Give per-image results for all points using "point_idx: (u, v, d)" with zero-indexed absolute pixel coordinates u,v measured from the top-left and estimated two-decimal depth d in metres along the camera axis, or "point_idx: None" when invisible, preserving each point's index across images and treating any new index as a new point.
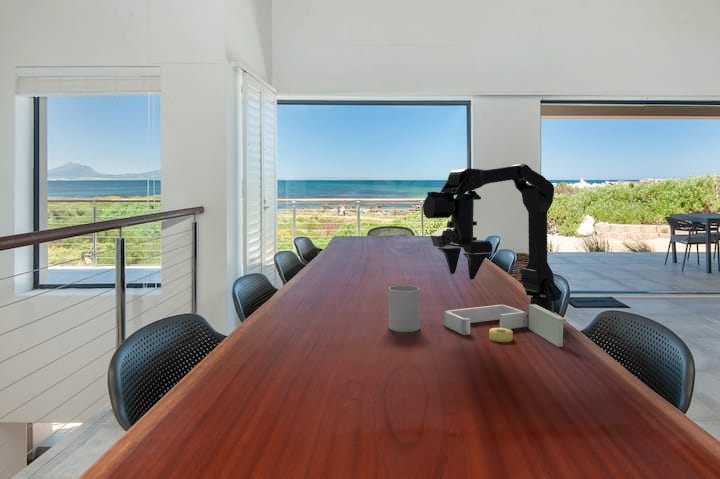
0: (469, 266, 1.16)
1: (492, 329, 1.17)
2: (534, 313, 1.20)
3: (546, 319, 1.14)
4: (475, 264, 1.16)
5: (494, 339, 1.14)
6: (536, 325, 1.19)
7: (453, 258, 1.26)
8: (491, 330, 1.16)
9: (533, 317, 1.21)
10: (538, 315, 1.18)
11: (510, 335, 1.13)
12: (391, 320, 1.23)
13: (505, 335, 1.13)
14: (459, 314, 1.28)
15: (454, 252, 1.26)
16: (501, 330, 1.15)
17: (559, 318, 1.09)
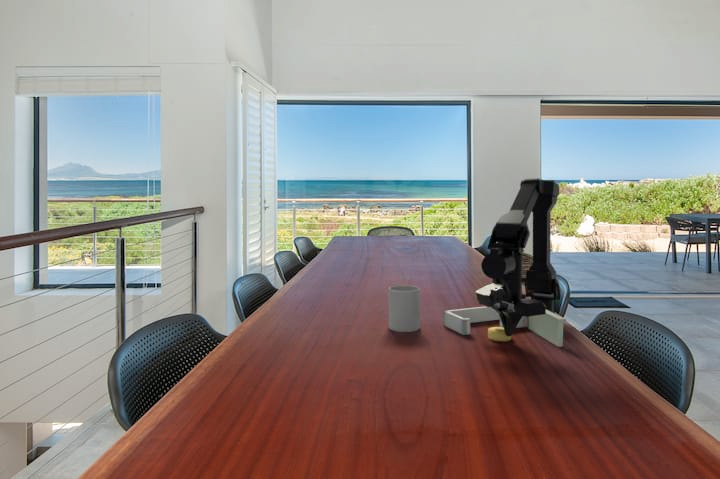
0: (507, 323, 1.11)
1: (491, 328, 1.17)
2: None
3: (546, 319, 1.14)
4: (513, 321, 1.11)
5: (493, 338, 1.14)
6: (536, 325, 1.19)
7: None
8: (490, 329, 1.16)
9: (533, 317, 1.21)
10: (538, 315, 1.18)
11: None
12: (391, 320, 1.23)
13: (504, 334, 1.13)
14: (459, 314, 1.28)
15: None
16: (500, 329, 1.16)
17: (559, 318, 1.09)
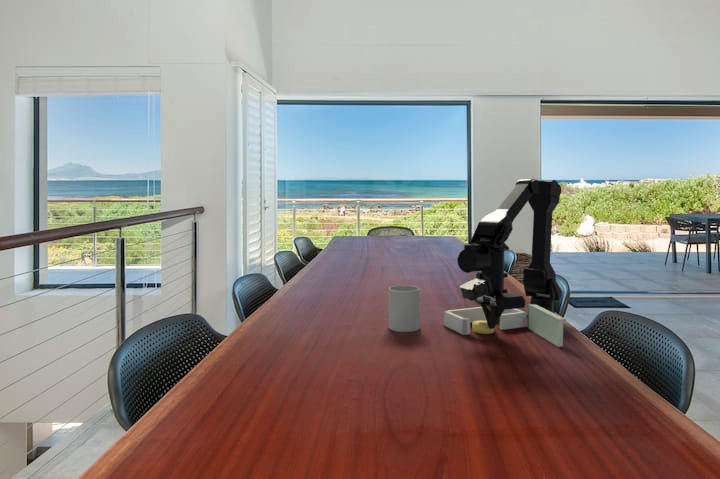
0: (489, 316, 1.17)
1: (475, 321, 1.24)
2: (534, 313, 1.20)
3: (546, 319, 1.14)
4: (495, 314, 1.17)
5: (476, 331, 1.20)
6: (536, 325, 1.19)
7: None
8: (474, 323, 1.22)
9: (533, 317, 1.21)
10: (538, 315, 1.18)
11: None
12: (391, 320, 1.23)
13: (487, 327, 1.19)
14: (459, 314, 1.28)
15: None
16: (483, 323, 1.22)
17: (559, 318, 1.09)
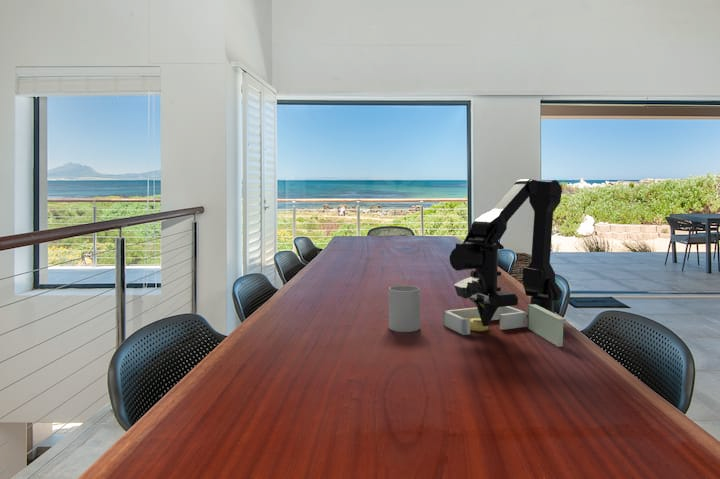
0: (483, 314, 1.20)
1: None
2: (534, 313, 1.20)
3: (546, 319, 1.14)
4: (489, 312, 1.20)
5: (471, 328, 1.23)
6: (536, 325, 1.19)
7: None
8: None
9: (533, 317, 1.21)
10: (538, 315, 1.18)
11: None
12: (391, 320, 1.23)
13: (481, 325, 1.22)
14: (459, 314, 1.28)
15: None
16: (478, 320, 1.24)
17: (559, 318, 1.09)
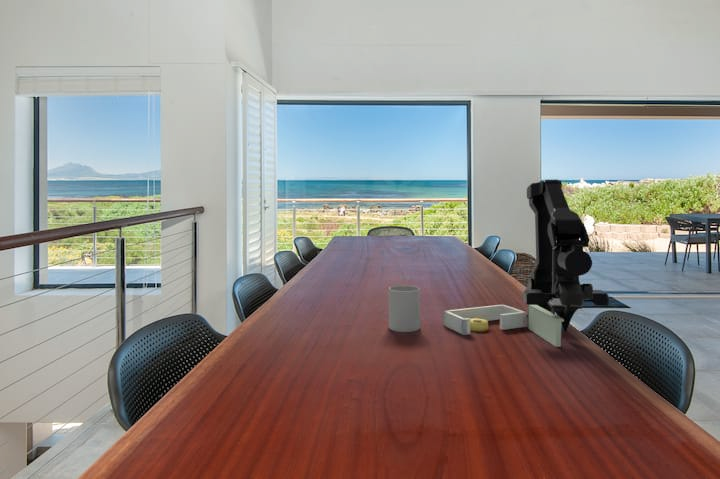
0: (569, 319, 1.12)
1: None
2: (534, 313, 1.20)
3: (545, 319, 1.14)
4: None
5: (471, 329, 1.23)
6: (535, 325, 1.19)
7: None
8: None
9: (533, 317, 1.21)
10: (537, 315, 1.18)
11: (485, 325, 1.22)
12: (391, 320, 1.23)
13: (480, 325, 1.22)
14: (459, 314, 1.28)
15: None
16: (477, 320, 1.24)
17: (557, 318, 1.09)
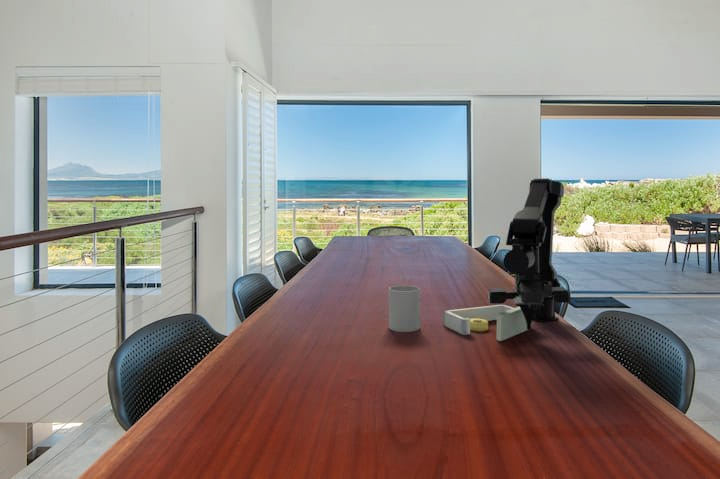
0: (531, 316, 1.14)
1: None
2: None
3: None
4: None
5: (471, 329, 1.23)
6: None
7: None
8: None
9: None
10: None
11: (485, 325, 1.22)
12: (391, 320, 1.23)
13: (480, 325, 1.22)
14: (459, 314, 1.28)
15: None
16: (477, 320, 1.24)
17: (500, 313, 1.14)
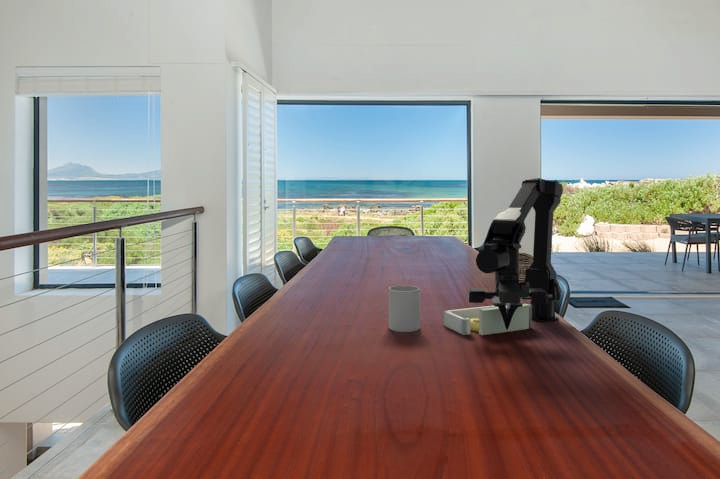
0: (510, 316, 1.15)
1: None
2: None
3: None
4: None
5: (471, 329, 1.23)
6: None
7: None
8: None
9: None
10: None
11: None
12: (391, 320, 1.23)
13: None
14: (459, 314, 1.28)
15: None
16: (477, 320, 1.24)
17: (483, 309, 1.18)
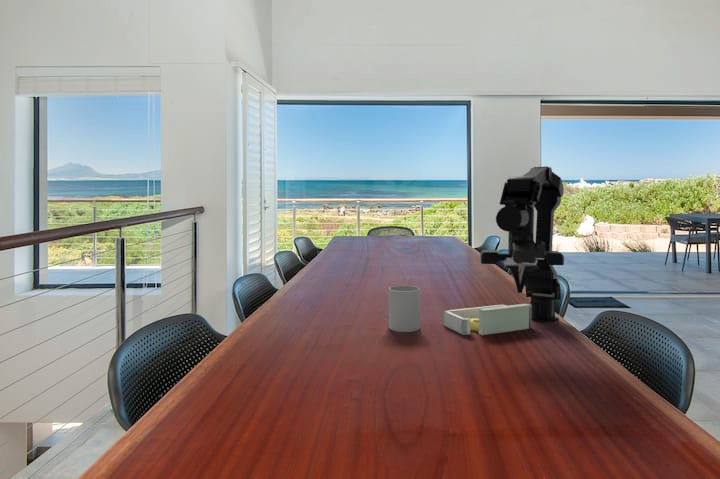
0: (524, 279, 1.11)
1: None
2: None
3: None
4: None
5: (471, 329, 1.23)
6: None
7: None
8: None
9: None
10: None
11: None
12: (391, 320, 1.23)
13: None
14: (459, 314, 1.28)
15: None
16: (477, 320, 1.24)
17: (483, 309, 1.19)
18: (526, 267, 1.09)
